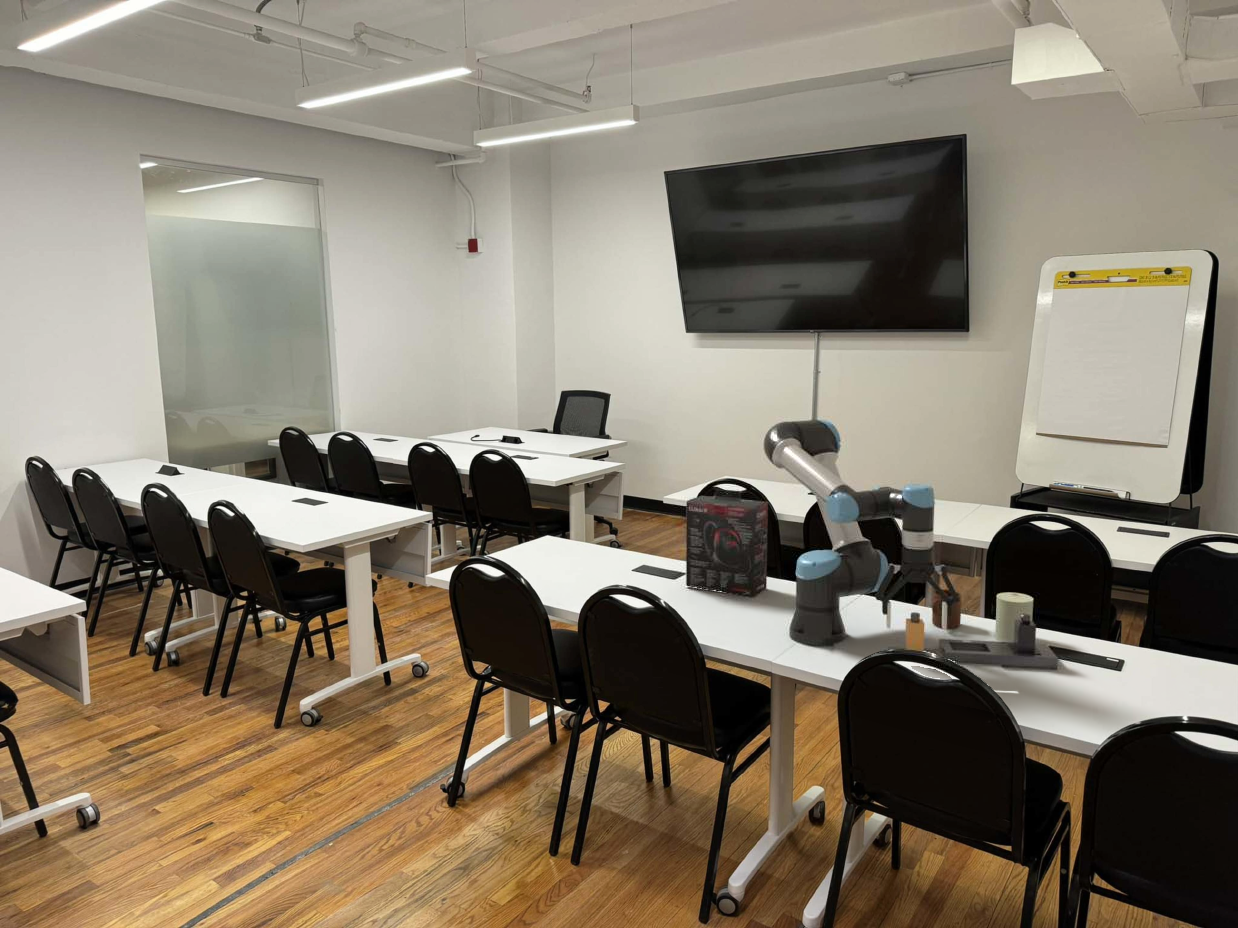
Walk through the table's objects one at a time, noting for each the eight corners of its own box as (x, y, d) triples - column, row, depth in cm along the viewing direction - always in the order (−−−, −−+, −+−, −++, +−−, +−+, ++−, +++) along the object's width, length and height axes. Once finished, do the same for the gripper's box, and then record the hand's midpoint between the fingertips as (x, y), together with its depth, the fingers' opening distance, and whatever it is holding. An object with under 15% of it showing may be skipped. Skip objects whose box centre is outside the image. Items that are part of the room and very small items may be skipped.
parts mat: (891, 662, 218) (892, 660, 218) (887, 648, 227) (887, 646, 227) (941, 665, 215) (942, 663, 215) (935, 650, 225) (935, 649, 225)
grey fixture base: (945, 663, 216) (947, 617, 214) (938, 649, 226) (940, 605, 224) (1057, 669, 211) (1059, 622, 209) (1045, 654, 221) (1047, 609, 219)
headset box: (768, 588, 284) (769, 489, 279) (754, 598, 273) (755, 496, 269) (701, 579, 296) (700, 484, 292) (685, 588, 286) (684, 490, 281)
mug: (946, 635, 237) (947, 602, 235) (919, 629, 242) (920, 596, 241) (965, 624, 245) (966, 592, 244) (939, 618, 250) (940, 587, 249)
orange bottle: (907, 657, 220) (908, 615, 218) (905, 651, 224) (906, 610, 222) (923, 658, 219) (924, 616, 217) (921, 652, 223) (922, 611, 221)
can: (1029, 634, 236) (1031, 591, 234) (1033, 645, 227) (1036, 601, 226) (993, 631, 239) (995, 589, 237) (995, 642, 230) (997, 599, 229)
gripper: (867, 548, 216) (866, 630, 219) (972, 550, 211) (970, 633, 214) (865, 542, 223) (864, 621, 226) (966, 543, 218) (964, 624, 221)
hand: (916, 627), depth 220 cm, fingers open, 13 cm apart
